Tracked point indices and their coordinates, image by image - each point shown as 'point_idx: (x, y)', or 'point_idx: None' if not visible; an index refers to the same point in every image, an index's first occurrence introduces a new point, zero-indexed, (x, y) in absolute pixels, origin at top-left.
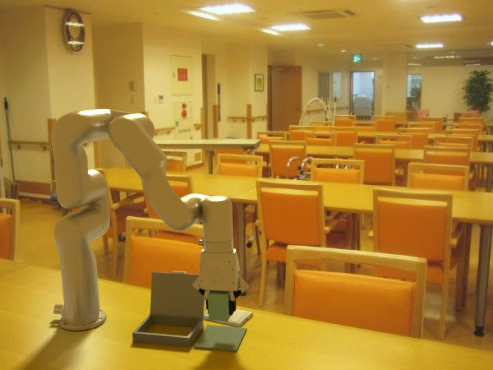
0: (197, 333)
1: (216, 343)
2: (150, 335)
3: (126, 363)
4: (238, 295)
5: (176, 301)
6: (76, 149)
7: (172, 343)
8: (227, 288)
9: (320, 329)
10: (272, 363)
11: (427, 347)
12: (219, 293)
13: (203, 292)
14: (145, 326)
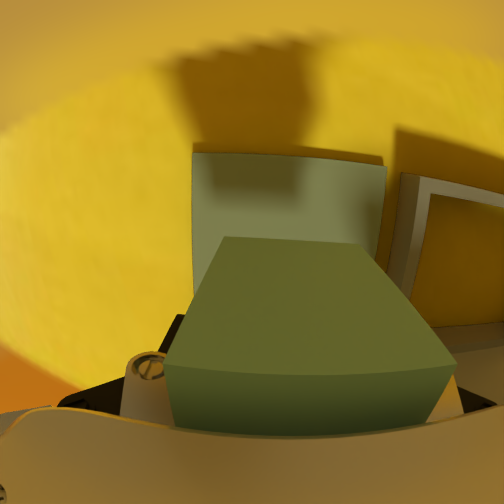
0: (389, 274)
1: (295, 198)
2: None
3: None
4: (92, 391)
5: (484, 393)
6: None
7: (463, 184)
8: (120, 456)
9: (21, 331)
10: (65, 110)
11: None
12: (297, 408)
13: (463, 407)
14: None
